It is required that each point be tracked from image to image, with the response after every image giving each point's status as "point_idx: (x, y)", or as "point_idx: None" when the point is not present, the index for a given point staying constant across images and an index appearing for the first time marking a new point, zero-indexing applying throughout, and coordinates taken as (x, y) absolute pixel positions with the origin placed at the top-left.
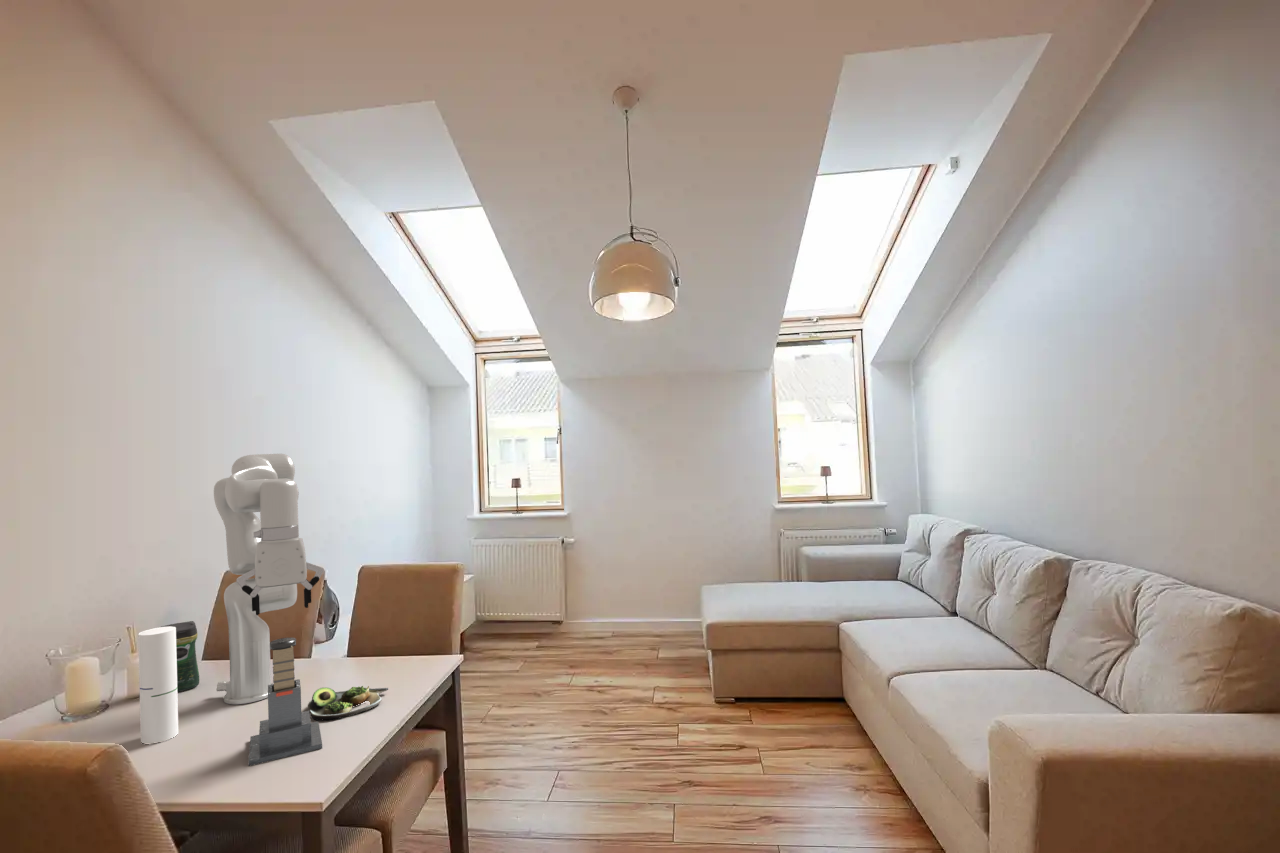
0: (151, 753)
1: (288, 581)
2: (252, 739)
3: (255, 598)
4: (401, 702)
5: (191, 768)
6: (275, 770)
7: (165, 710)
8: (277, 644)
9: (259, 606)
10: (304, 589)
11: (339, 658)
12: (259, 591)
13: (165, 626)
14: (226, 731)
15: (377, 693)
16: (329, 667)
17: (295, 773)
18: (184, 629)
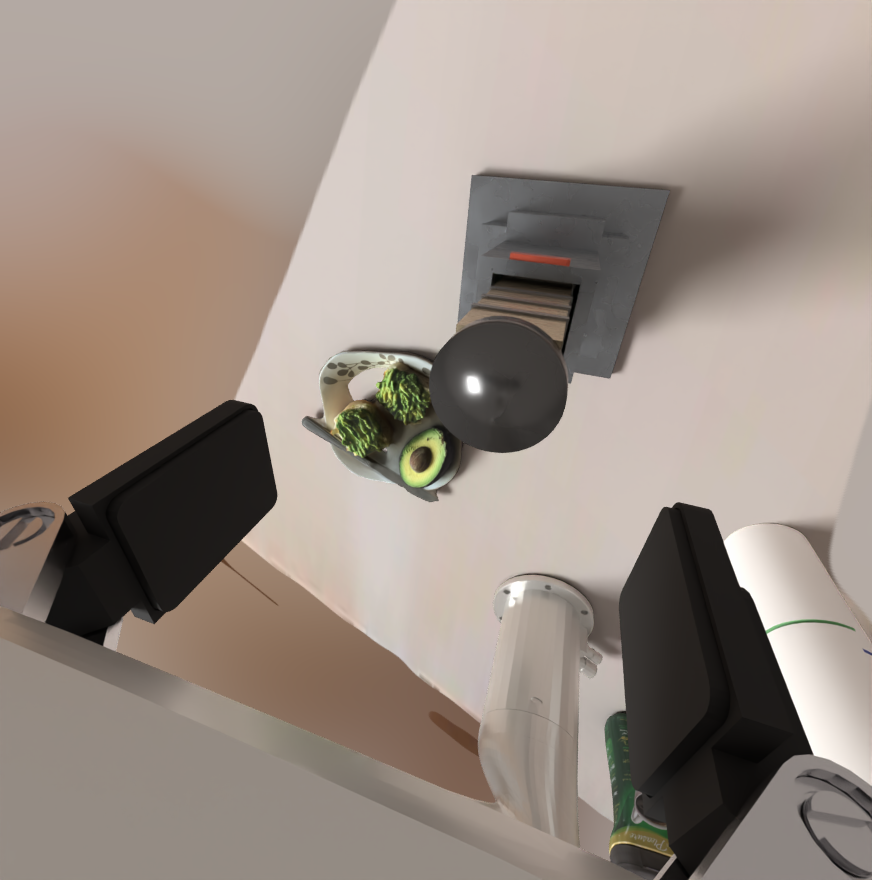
0: (821, 478)
1: (7, 732)
2: (612, 354)
3: (783, 708)
4: (285, 345)
5: (792, 299)
6: (617, 88)
7: (791, 580)
8: (535, 338)
9: (646, 615)
10: (150, 596)
11: (377, 640)
12: (725, 843)
13: None
14: (636, 474)
15: (324, 418)
16: (397, 619)
17: (577, 6)
18: (647, 875)
